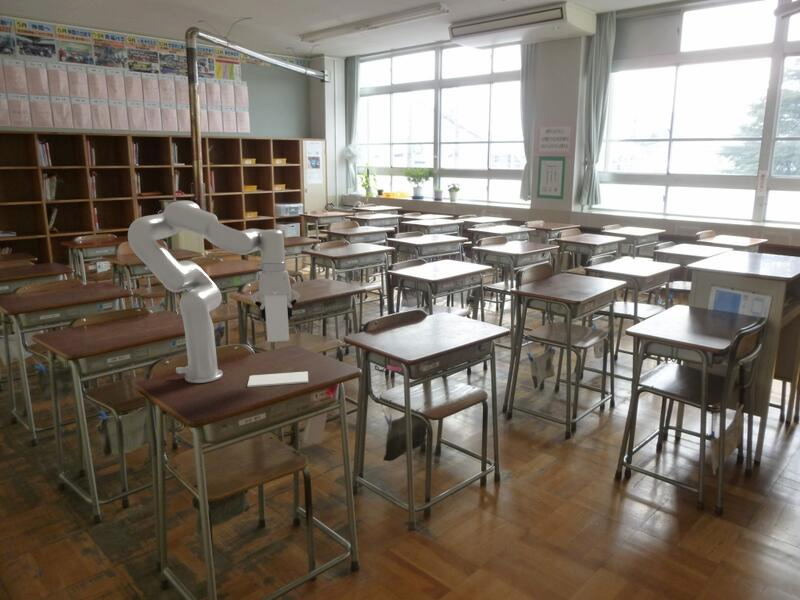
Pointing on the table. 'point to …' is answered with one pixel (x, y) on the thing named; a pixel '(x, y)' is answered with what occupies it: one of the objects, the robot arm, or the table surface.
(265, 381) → the mat
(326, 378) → the table surface
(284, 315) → the milk carton
